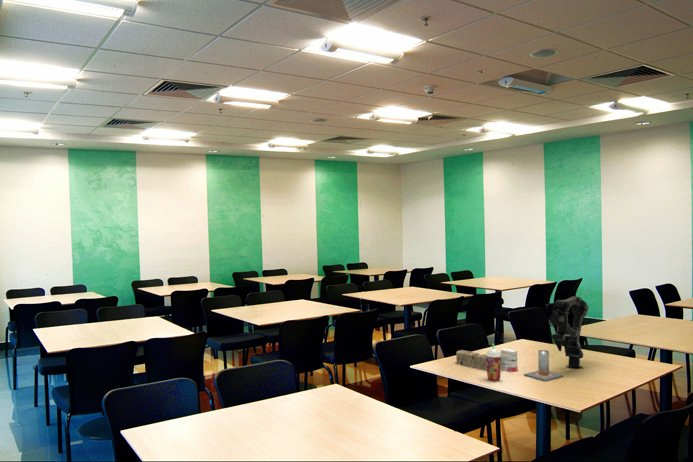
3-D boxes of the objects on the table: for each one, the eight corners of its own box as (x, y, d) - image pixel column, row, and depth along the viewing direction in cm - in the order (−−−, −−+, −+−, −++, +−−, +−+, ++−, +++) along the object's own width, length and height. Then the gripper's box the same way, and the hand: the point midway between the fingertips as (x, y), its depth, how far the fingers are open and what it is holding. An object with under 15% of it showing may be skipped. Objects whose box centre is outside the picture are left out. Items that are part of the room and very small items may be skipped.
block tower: (454, 365, 325) (495, 373, 303) (454, 351, 325) (494, 358, 303) (462, 363, 330) (503, 370, 308) (462, 349, 330) (502, 356, 308)
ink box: (518, 370, 307) (517, 350, 307) (513, 372, 304) (512, 351, 304) (505, 367, 313) (505, 348, 314) (500, 369, 310) (500, 349, 310)
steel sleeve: (542, 372, 298) (542, 349, 298) (551, 374, 294) (550, 351, 294) (536, 374, 295) (536, 350, 295) (544, 376, 291) (544, 352, 291)
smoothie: (502, 378, 291) (502, 342, 291) (500, 382, 283) (499, 345, 283) (487, 377, 294) (486, 341, 294) (484, 381, 287) (484, 344, 287)
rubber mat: (542, 371, 305) (542, 369, 305) (563, 376, 293) (563, 374, 293) (524, 375, 296) (523, 373, 296) (545, 381, 284) (545, 379, 284)
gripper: (571, 326, 290) (572, 354, 290) (582, 321, 304) (582, 348, 304) (551, 324, 297) (551, 351, 297) (562, 319, 311) (562, 346, 311)
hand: (562, 349), depth 302 cm, fingers open, 9 cm apart
